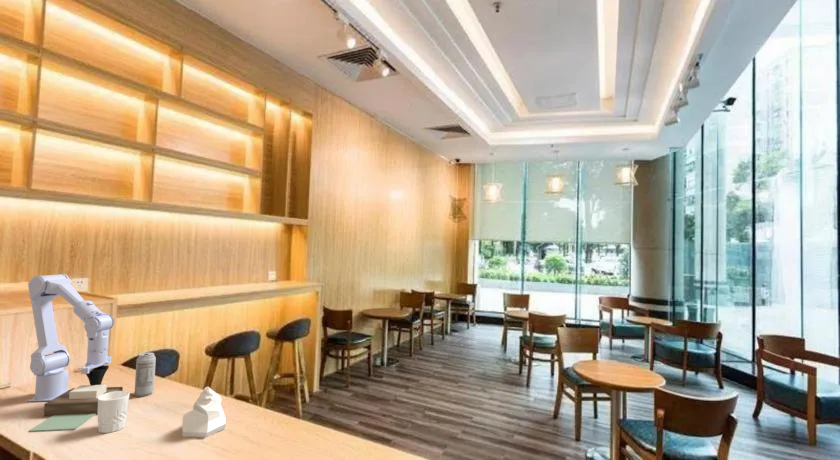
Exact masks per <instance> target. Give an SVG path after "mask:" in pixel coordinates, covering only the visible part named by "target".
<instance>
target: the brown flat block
mask: <svg viewBox="0 0 840 460" xmlns="http://www.w3.org/2000/svg"><path fill="white" fill-rule="evenodd" d="M123 387H124V386H111V387H109V386H107V389H106V392H105V393H109V392H114V391H124V389H123ZM75 388H76V387H73V388H70V389H68V390H69V391H67V392H65V393H63V394H61V395H60V396H58V397H56V398H54V399H53V400H51V401H46V402H45V403H44V405H43V417H52V416H53V415H69V414H93V413H96V415H98V398H91V399H69V393H70V391H72V390H74V389H75ZM105 393H104V394H105ZM102 395H103V394H102Z"/></svg>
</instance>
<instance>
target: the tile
mask: <svg viewBox="0 0 840 460" xmlns="http://www.w3.org/2000/svg"><path fill="white" fill-rule="evenodd" d="M107 387H108V386H107V384H101V385H90V384H82V385H81V384H80V385H79V386H77V387H74V388H75V389H74V390H72V391H70V393H69V399H91V398H98V397H99V396H101V395H102V394H104V393H105V392H106V389H107Z"/></svg>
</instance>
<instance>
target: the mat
mask: <svg viewBox="0 0 840 460" xmlns="http://www.w3.org/2000/svg"><path fill="white" fill-rule="evenodd" d="M96 415H97V414H96V413H93V414H69V415H53V416H49V418H46V419H45V420H44V421H42V422H40V423H39V424H37V425H35V426H34V427H32V428H31V429H29V430H28V433H35V432H37V433H38V432H40V433H41V432H55V431H56V432H59V431H75V430H77V429H78V428H80V427H81V426H82V425H84V424H85V423H86V422H87V421H89V420H91V419H92V418H94V417H95V416H96Z"/></svg>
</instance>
